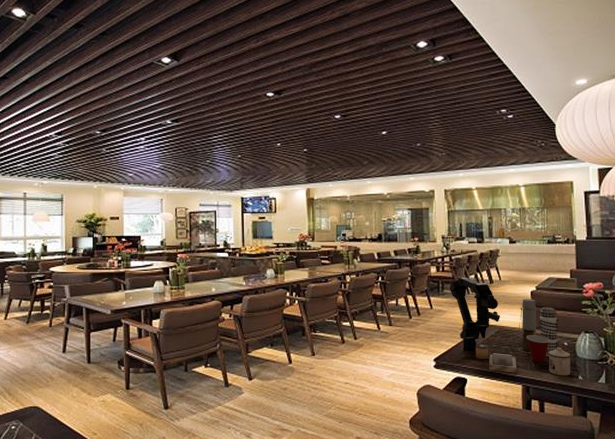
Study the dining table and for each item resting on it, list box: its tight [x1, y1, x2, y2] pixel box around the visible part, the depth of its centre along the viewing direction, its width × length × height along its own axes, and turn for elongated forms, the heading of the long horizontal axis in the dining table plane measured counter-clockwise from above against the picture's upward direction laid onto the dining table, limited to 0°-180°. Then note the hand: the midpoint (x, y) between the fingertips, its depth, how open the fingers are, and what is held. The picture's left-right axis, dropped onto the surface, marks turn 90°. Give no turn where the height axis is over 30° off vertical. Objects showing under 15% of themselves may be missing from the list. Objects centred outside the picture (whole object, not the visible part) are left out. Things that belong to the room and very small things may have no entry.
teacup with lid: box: [548, 347, 571, 376], centre depth 205 cm, size 12×9×12 cm
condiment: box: [518, 328, 534, 354], centre depth 242 cm, size 7×8×12 cm
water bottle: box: [518, 298, 537, 335], centre depth 261 cm, size 9×8×25 cm
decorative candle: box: [538, 306, 559, 357], centre depth 235 cm, size 9×9×25 cm
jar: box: [475, 343, 489, 360], centre depth 231 cm, size 6×6×6 cm
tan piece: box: [488, 353, 518, 374], centre depth 217 cm, size 12×18×2 cm
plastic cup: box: [527, 334, 550, 364], centre depth 224 cm, size 11×11×12 cm
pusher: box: [492, 352, 513, 367], centre depth 217 cm, size 8×3×5 cm, turn 66°
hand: (483, 336), depth 231 cm, fingers open, 9 cm apart
